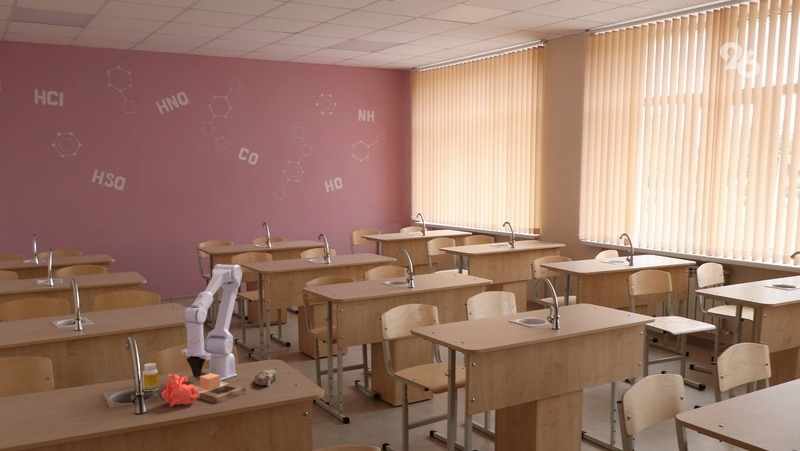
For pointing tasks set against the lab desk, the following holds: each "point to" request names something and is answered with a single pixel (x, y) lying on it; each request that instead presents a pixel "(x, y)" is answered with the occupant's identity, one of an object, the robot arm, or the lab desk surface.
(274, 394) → the lab desk surface
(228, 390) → the tunnel deck
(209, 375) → the terracotta block
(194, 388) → the anatomical heart
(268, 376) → the mineral rock
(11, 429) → the lab desk surface
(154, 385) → the supplement bottle
